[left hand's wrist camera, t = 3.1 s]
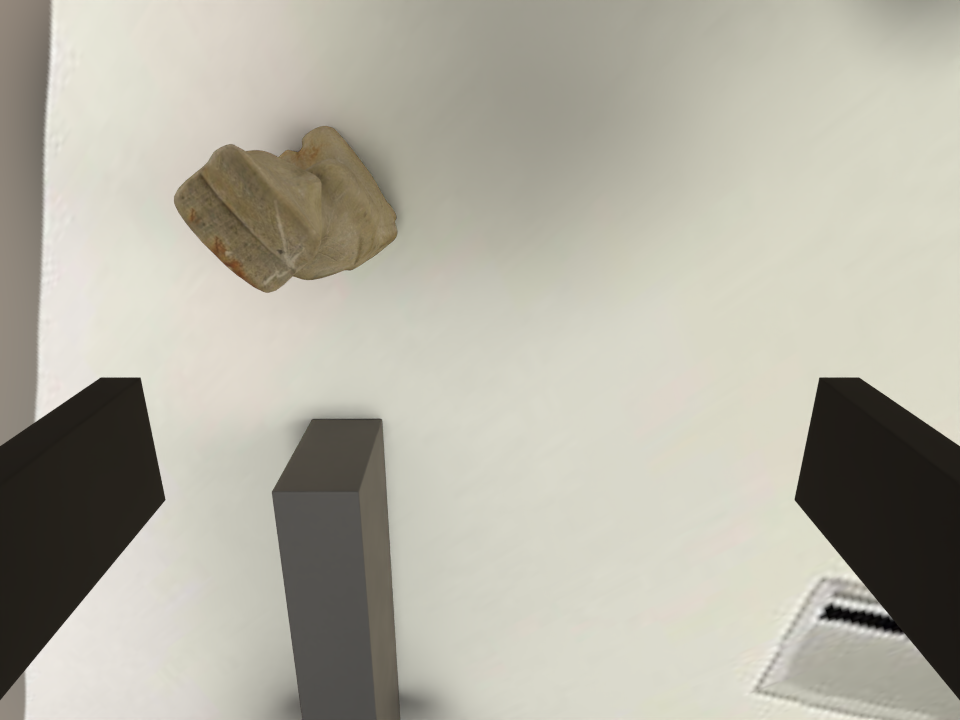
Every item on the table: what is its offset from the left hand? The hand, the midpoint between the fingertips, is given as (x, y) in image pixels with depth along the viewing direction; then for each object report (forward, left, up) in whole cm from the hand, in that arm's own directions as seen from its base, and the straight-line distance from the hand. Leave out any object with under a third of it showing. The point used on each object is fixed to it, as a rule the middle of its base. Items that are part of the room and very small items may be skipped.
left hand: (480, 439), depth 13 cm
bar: (+28, -2, -27) cm, 39 cm away
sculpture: (0, -8, -27) cm, 28 cm away
